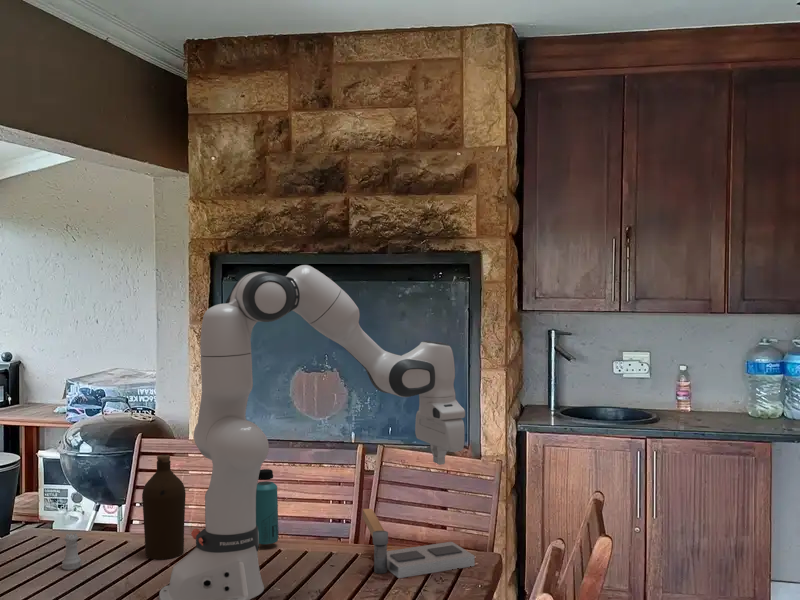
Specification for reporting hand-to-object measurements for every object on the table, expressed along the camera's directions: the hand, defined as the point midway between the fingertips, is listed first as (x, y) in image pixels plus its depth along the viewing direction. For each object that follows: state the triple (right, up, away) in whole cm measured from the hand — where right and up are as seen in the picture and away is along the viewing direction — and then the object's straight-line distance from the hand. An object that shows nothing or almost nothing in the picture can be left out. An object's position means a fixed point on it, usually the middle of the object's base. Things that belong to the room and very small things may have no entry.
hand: (439, 463), depth 200 cm
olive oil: (-69, -25, +8) cm, 74 cm away
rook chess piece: (-89, -25, -1) cm, 93 cm away
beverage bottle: (-44, -25, +14) cm, 53 cm away
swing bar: (-16, -17, +4) cm, 24 cm away
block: (-5, -24, -2) cm, 25 cm away
